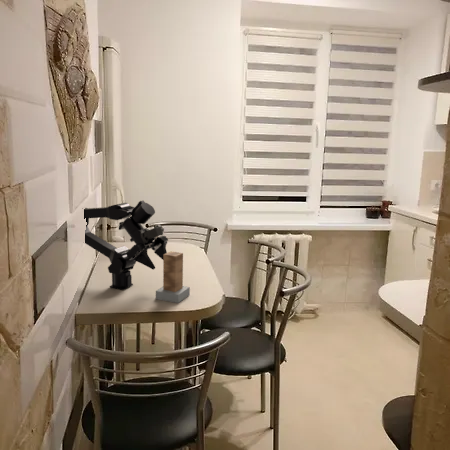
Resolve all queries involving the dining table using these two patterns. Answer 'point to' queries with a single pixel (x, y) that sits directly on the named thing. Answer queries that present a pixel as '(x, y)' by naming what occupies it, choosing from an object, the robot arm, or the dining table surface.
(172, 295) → the slate plinth
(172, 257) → the walnut pillar
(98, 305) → the dining table surface
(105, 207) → the robot arm
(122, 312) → the dining table surface
